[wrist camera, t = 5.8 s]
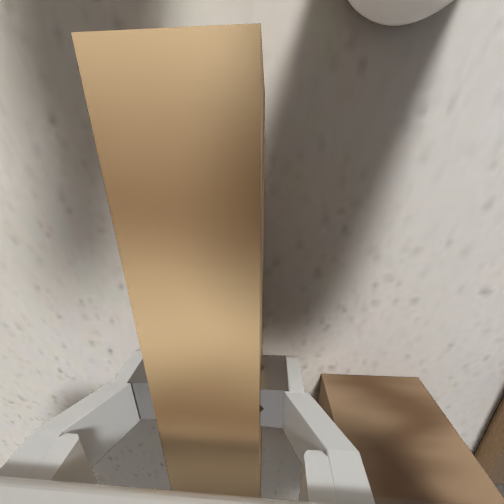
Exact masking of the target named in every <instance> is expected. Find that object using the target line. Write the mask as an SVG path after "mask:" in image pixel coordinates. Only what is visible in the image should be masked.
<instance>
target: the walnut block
mask: <svg viewBox="0 0 504 504" xmlns="http://www.w3.org/2000/svg"><path fill="white" fill-rule="evenodd" d="M318 404H319V405H320V407H321V408H322V409H323V410H324V411H325V412H326V414H327V415H328V416H329V417H330V418H331V420H332V421H333V422H334V423H335V424H336V425H337V427H338V428H339V429H340V430H341V431H342V432H343V434H344V435H345V436H346V437H347V438H348V440H349V441H350V442H351V443H352V444H353V445H354V447H355V448H356V449H357V450H358V451H359V453H360V456H361V459H362V462H363V466H364V469H365V472H366V475H367V479H368V482H369V485H370V488H371V492H372V495H373V498H374V501H375V504H504V498H503V496H502V495H501V493H500V492H499V490H498V489H497V488H496V486H495V485H494V483H493V482H492V481H491V479H490V478H489V476H488V475H487V474H486V472H485V471H484V469H483V468H482V467H481V465H480V464H479V462H478V461H477V459H476V458H475V457H474V455H473V454H472V452H471V451H470V450H469V448H468V447H467V445H466V444H465V443H464V441H463V440H462V438H461V437H460V436H459V434H458V433H457V431H456V430H455V428H454V427H453V426H452V424H451V423H450V421H449V420H448V419H447V417H446V416H445V414H444V413H443V412H442V410H441V409H440V407H439V406H438V405H437V403H436V402H435V400H434V399H433V397H432V396H431V395H430V393H429V392H428V390H427V389H426V388H425V386H424V385H423V383H422V382H421V381H420V379H419V378H415V377H389V376H362V375H336V374H322V375H321V383H320V391H319V399H318Z"/></svg>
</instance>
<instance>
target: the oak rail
mask: <svg viewBox="0 0 504 504" xmlns="http://www.w3.org/2000/svg"><path fill="white" fill-rule="evenodd" d="M71 35H72V39H73V44H74V49H75V53H76V58H77V62H78V67H79V71H80V76H81V80H82V85H83V89H84V94H85V98H86V103H87V108H88V112H89V117H90V121H91V126H92V130H93V135H94V139H95V144H96V148H97V153H98V158H99V162H100V167H101V171H102V176H103V180H104V185H105V189H106V194H107V198H108V203H109V207H110V212H111V217H112V221H113V226H114V230H115V235H116V239H117V244H118V248H119V253H120V257H121V262H122V267H123V271H124V276H125V280H126V285H127V289H128V294H129V298H130V303H131V307H132V312H133V317H134V321H135V326H136V330H137V335H138V339H139V344H140V348H141V353H142V357H143V362H144V366H145V371H146V376H147V380H148V385H149V389H150V394H151V398H152V403H153V407H154V412H155V416H156V421H157V426H158V430H159V435H160V439H161V444H162V448H163V453H164V457H165V462H166V466H167V471H168V476H169V480H170V485H171V489H172V490H174V491H186V492H198V493H210V494H222V495H234V496H246V497H258V498H260V494H261V455H262V426H260V372H261V355H262V344H263V233H264V121H265V89H264V72H263V55H262V39H261V23H258V24H236V25H215V26H194V27H172V28H151V29H130V30H108V31H87V32H71Z"/></svg>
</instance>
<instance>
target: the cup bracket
mask: <svg viewBox="0 0 504 504" xmlns="http://www.w3.org/2000/svg"><path fill="white" fill-rule="evenodd" d="M474 457H475V458H476V459H477V461H478V462H479V464H480V465H481V467H482V468H483V469H484V471H485V472H486V474H487V475H488V476H489V478H490V479H491V481H492V482H493V483H494V484H504V396H503V398H502V400H501V402H500V404H499V406H498V408H497V410H496V412H495V414H494V416H493V418H492V420H491V422H490V424H489V426H488V428H487V430H486V432H485V434H484V436H483V438H482V440H481V442H480V444H479V446H478V448H477V450H476V452H475V454H474Z"/></svg>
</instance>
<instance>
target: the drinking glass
mask: <svg viewBox="0 0 504 504" xmlns="http://www.w3.org/2000/svg"><path fill="white" fill-rule="evenodd" d="M452 1H453V0H348V2H349V3H350V4H351V6H352V7H353V8H354V9H355V10H356V11H357V12H358V13H359V14H361V15H362V16H363V17H365V18H367V19H368V20H370V21H373V22H375V23H378V24H382V25H390V26H398V25H406V24H411V23H414V22H417V21H420V20H422V19H425V18H427V17H429V16H431V15H433V14H435V13H436V12H438V11H439V10H441V9H442V8H444V7H445V6H447V5H448V4H449V3H451V2H452Z"/></svg>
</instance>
